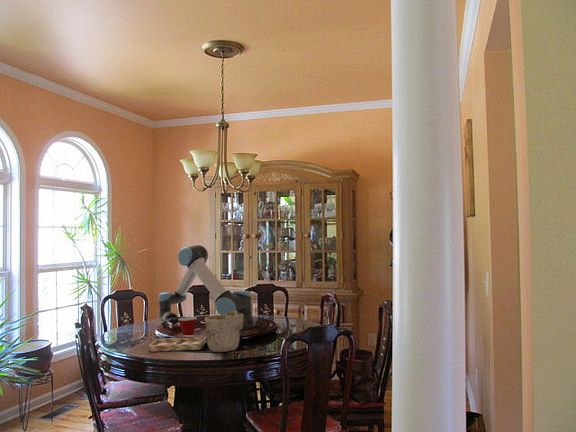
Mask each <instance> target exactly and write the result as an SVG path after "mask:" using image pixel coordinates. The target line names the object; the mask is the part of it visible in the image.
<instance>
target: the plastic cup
mask: <svg viewBox="0 0 576 432" xmlns="http://www.w3.org/2000/svg"><path fill="white" fill-rule="evenodd" d="M186 317H187V318H182V317H181V318H180V319H178V320H179V322H180V323H179V324H180V328H181V333H182V336H183V335H193V334H194V335H195V328H196V326H195V325H196V320H197V317H196V316H195V317H194V316H193V317H192V316H186Z"/></svg>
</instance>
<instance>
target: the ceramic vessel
mask: <svg viewBox="0 0 576 432" xmlns="http://www.w3.org/2000/svg"><path fill="white" fill-rule="evenodd" d="M243 318H244V315H243V314H242V313H239V312H237V311H231V312H230V313H228V314H227V315H220V314H214V315H209V316H205V318H204V323H205V329H206V343H207V346H208V349H209V350H210V351H211V352H212V353H223V352H231V351H235V350H237V348H238V347H239V345H240V330H244V329H243V322H244V319H243Z"/></svg>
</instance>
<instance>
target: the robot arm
mask: <svg viewBox="0 0 576 432" xmlns="http://www.w3.org/2000/svg"><path fill="white" fill-rule="evenodd" d="M208 259H209V252H208V250H207V248H206V247H205V246H203V245H199V244H198V245H191V246H185V247H182V248H181V249H180V250H179V252H178V254H177V260H178V263H179V264H180V265H181V266H183V267H187V269H186V271H185V273H184V275H183V277H182V278H181V280H180V282H179V283H178V286H177V287H176V289H175V290H174V292H173V293H171V292H169V291H163V292H160V293H159V294H158V304H159V305H158V306H159V307H158V308H159V312H158V313H157V317H158V319H159V320H160V321H161V327H165V328H170V329H173V326H175V325H176V324H177V323H178V324H180V322H179V320H178V319H180V318H187V317H188V316H184V315H181V316H178V315H177V314H176V313H174V312H172V306H174V305H177V304H180V303H181V304H182V303H183V302H185V301H186V300H187V293H188V291H189V290H190V287H191V286H192V284H193V282H194V281H195V279H196V277H197V278H198V279H199V280H200V281H201V282H202V284H203V285H204V286H205V287H206V289H207V290H208V292H209V293H210V294H211V295H212V296H213V298H214V303H215V309H216V312H217V313H218V315H227V314H228V313H230V312H231V311H237V312H239V313H242V314H243V315H244V318H243V319H244V322H243V329H242V330H249V329H252V328H255V327H256V322H255V318H254V316H253V313H252V312H253V311H252V310H253V309H252V295H251V294H252V293H251V292H250V291H249V290H233V291H231V290H230V289H226V288H225V287H224V286H223V284H222V283H221V282H220V280H219V279H218V277H217V276H216V275H215V274H214V273H213V272H212V271H211V269H210V268H209V266H208V265H206V263H207V261H208Z"/></svg>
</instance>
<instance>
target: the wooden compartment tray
mask: <svg viewBox="0 0 576 432" xmlns="http://www.w3.org/2000/svg"><path fill="white" fill-rule="evenodd" d="M206 343H207V336H197V337H196V336H193V337H191V338H184V337H171V338H170V337H169V338H156V339H155V340H153V341H152V343H150V344H149V345H148V346H147V347H148V349H147V350H148V352H165V351H166V352H167V351H169V352H170V351H192V350H193V351H194V350H201V349H202V348H203V347H204V346H205V344H206Z"/></svg>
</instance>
